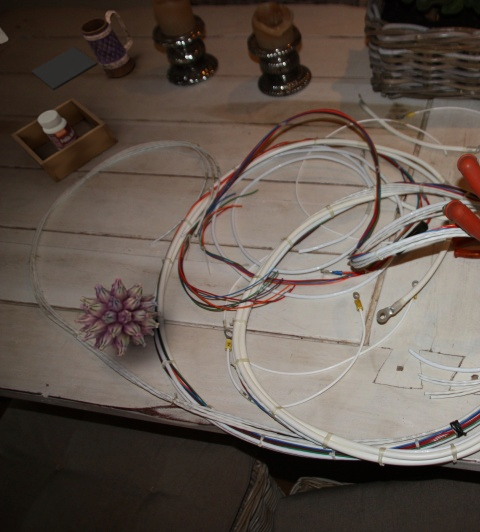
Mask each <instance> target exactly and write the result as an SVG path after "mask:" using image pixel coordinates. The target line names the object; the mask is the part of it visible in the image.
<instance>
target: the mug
mask: <svg viewBox="0 0 480 532" xmlns="http://www.w3.org/2000/svg"><path fill="white" fill-rule="evenodd" d="M112 17H114V18H115V19H116V21H117V23H118V25H119V27H120V29H121V31H122V32H123V34H124V36H125V38H126V44H125V45H123V44H122V42H121V40H120V39H119V37H118V35H117V34H116V33H115V31H114V30H113V28H112V26H111V24H112ZM80 32H81V35H82V36H83V38H84V40H85V41H86V43H87V44H88V46H89V48H90V49H91V51H92V53H93V54H94V56H95V57H96V61H97V63H98V64H99V65H100V68H102V69H103V71H104V72H105V74H106V76H108V77H110V78H113V79H114V78H122V77H124V76H126V75H128V74H129V73H131V72H132V71H133V69H134V68H135V62H134V61H133V59H132V57H131V56H130V53H129V52H128V51H129V50H130V49H131V47H132V45H133V39H132V36H131V35H130V32H129V31H128V29H127V28H126V26H125V24H124V21H123V19H122V17H121V16H120V15H119V13H118V12H117V11H115V10H107V11H106V12H105V16H104V17H94V18H91V19H88V20H86V21H84V23H83V24H82V25H81V26H80Z"/></svg>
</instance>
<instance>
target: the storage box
mask: <svg viewBox="0 0 480 532" xmlns="http://www.w3.org/2000/svg"><path fill="white" fill-rule="evenodd" d="M52 110H54V111H56V112H57V113H58V114H59V115H60V117H61V118H64V119H65V120H66V121H67V123H68V124H69V125H70V126H71V128H72V127H73V126H75V125H76V124H78V123H79V122H81V121H83V120H85V121H87V122H88V123H89V124H91V126H93V127H94V128H92V129H91V130H89V131H87V132H86V133H84V134H83V135H81V136H80V137H79V138H78V139H77V140H75V141H74V142H72V143H70V144H69V145H67V146H66V147H64V148H63V149H61V150H58V151H56V152H55V153H53V154H52V155H50V156H49V157H47V158H45V159H44V160H43V159H42V158H40V156H39V155H38V154H37V153H36V152H35V150H37V149H39V148H40V147H41V146H43V145H44V144H46V143H48V142H50V141H51V139H50V138H49V137H48V136H47V135H46V134H45V132H44V131H43V127H42V126H41V125H40V124H39V122H38V118H36V119H34V120H33V121H32V122H30V123H28V124H26V125H24V126H23V127H21V128H20V129H18V130H16V131H14V132H13V133H11V135H10V136H11V137H12V138H13V139H14V140H15V142H16V143H18V145H19V146H20V147H21V148H22V149H23V150H24V151H25V153H27V155H28V156H30V157H31V159H33V161H35V162H36V163H37V164H38V165H39V166H40V167H41V168H42V169H43V170H44V171H45V172H46V173H47V174H48V175H49V177H51V178H52V179H53V180H54V181H55V182H56V183H58V182H60V181H61V180H63V179H64V178H66V177H68V175H71V174H72V173H74V172H75V171H77V170H78V169H80V168H81V167H83V166H84V165H85V164H87V163H88V162H90V161H91V160H93V159H94V158H96V157H98V156H99V155H101V154H102V153H103V152H105V151H106V150H108V149H109V148H111V147H113V146H114V145H115V144H117V143H118V142H119V141H118V139H117V138H116V137H115V135H114V134H113V133H112V131H111V129H109V127H108V125H107V124H106V123H105V122H104V121H103V120H101V119H100V118H99V117H98V116H97V115H95V114H94V113H93V112H92V111H91V110H89V109H88V108H87V107H86V106H84V105H83V104H81V103H80V102H79V101H78V100H77V99H76V98H74V97H71V98H69V99H68V100H66V101H64V102H62V103H61V104H59V105H57V106H56V107H54V108H52Z"/></svg>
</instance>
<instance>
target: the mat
mask: <svg viewBox="0 0 480 532" xmlns="http://www.w3.org/2000/svg"><path fill="white" fill-rule="evenodd" d="M97 65H98V62H96V61H95V60H94V59H92V58H90V57H89V56H88V55H86V53H84V52H82V51H81V50H80V49H78V48H77V47H75V46H72V47H70V48H69V49H67V50H65V51H64V52H62V53H60V54H58V55H57V56H54V57H53V58H51V59H50V60H48V61H46V62H44V63H43V64H41V65H39V66H37V67H36V68H33V69H32V70H31V73H32V74H34V75H35V76H36V77H37V78H39V80H41V81H42V82H43V83H45V85H47V86H48V87H49V88H50V89H52V90H53V91H55V90H57V89H58V88H60V87H62V86H63V85H65V84H67V83H68V82H70V81H72V80H73V79H75V78H77V77H78V76H80V75H82V74H83V73H86V72H88V70H90V69H92V68H94V67H95V66H97Z"/></svg>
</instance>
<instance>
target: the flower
mask: <svg viewBox="0 0 480 532" xmlns="http://www.w3.org/2000/svg"><path fill="white" fill-rule="evenodd" d="M144 287H145V285H144V284H143V283H141V282H140V283H134V285H133V286H132V287H130V288H128V289H127V288H126V287H125V285H124V283H123V282H122V278H121V277H117V278H115V279H114V283H112V284H111V289H110V290H109V289H108V288H105V287H104V286H103V285H102V284H100V283H98V284H96V285H94V286H93V289H94V290H95V295H96V297H86V296H83V295H82V296H81V297H80V299H79V301H80V302H81V303H80V305H79V309H82V311H84V313H85V314H84V315H82V316H81V317H79V318H75V319H73V322H74V324H82V325H84V326H83V327H81V328H79V332H80V333H82V334H83V333H86V334H85V335H84V336H83V337H82V338H81V342H84V343H85V342H88V340H89V341H90V340H94V339H95V342H94V344H93V346H92V347H93V348H94V350H98V351H100V352H103V351H104V350H105V348H108V347H109V346H111V347H112V348H113V349H114V350H115V351H116V355H117V357H120V356H121V357H123V356H125V352H126V351H127V350H128V349H127V348H128V346H129V344H130V342H131V343H133V344H134V345H135V346H138V345H140V346H141V347H143V348H144V347H145V348H146V347H147V345H148V343H147V342H146V341H145V336H147V335H149V336H151V337H153V336H155V334H154V333H155V332H154V331H153V329H158V328H159V326H160V323H159V322H157V321H155V320H154V318H156V317H159V316H160V315H161V312H160V311H154V309H155V308H156V307H158V306H159V301H153V300H154V299H155V298H156V295H155V293H151V294H150V295H144V291H143V289H144Z"/></svg>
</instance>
